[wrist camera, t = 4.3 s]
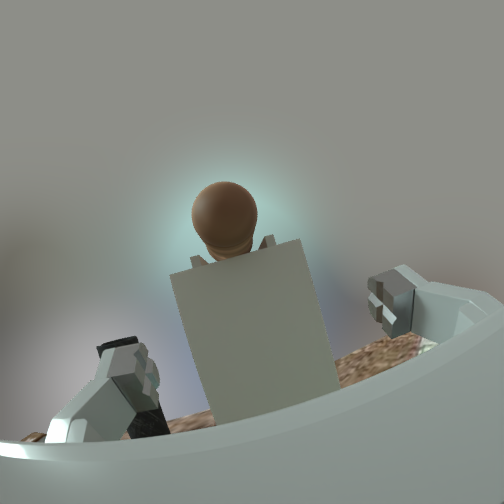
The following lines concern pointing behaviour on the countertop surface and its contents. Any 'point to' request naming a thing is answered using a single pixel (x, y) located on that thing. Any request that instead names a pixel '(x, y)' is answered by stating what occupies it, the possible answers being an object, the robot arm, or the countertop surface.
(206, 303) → the gray stand
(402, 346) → the countertop surface
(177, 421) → the countertop surface
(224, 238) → the wooden turned rod
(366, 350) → the countertop surface
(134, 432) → the travel mug
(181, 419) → the countertop surface
